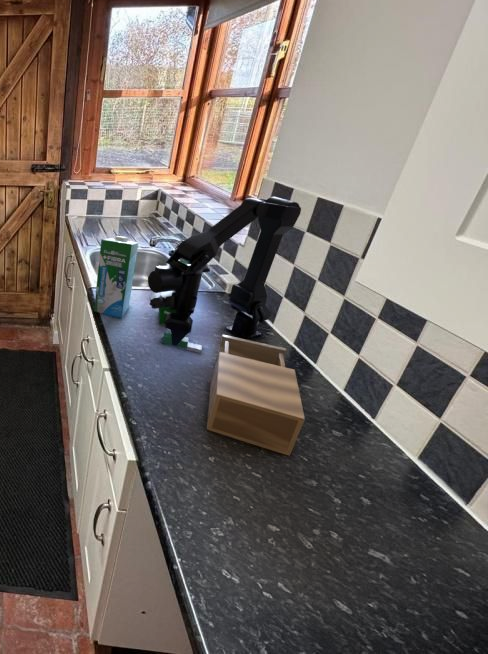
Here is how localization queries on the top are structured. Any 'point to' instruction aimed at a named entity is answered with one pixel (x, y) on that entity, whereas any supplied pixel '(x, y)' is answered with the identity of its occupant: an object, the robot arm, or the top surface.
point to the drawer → (252, 350)
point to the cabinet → (255, 403)
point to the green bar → (182, 343)
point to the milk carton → (115, 275)
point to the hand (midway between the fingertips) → (176, 337)
